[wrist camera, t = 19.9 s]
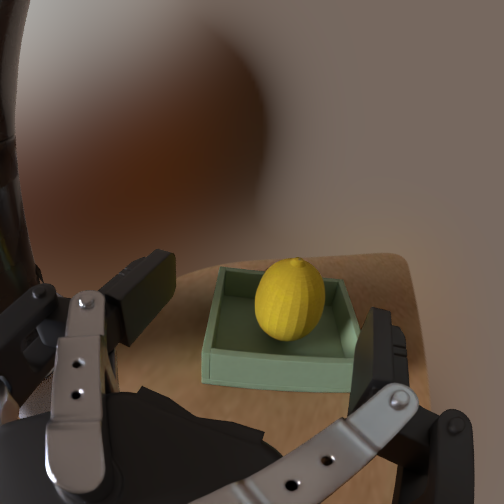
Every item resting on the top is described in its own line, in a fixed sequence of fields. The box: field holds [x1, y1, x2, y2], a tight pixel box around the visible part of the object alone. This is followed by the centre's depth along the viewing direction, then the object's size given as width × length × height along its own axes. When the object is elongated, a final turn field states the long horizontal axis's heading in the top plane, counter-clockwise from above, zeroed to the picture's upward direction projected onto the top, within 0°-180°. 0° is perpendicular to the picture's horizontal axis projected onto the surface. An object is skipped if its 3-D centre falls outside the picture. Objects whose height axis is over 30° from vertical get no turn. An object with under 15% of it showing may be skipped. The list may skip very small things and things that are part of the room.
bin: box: [202, 267, 361, 392], centre depth 26 cm, size 12×11×4 cm
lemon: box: [255, 257, 325, 341], centre depth 25 cm, size 6×6×8 cm
